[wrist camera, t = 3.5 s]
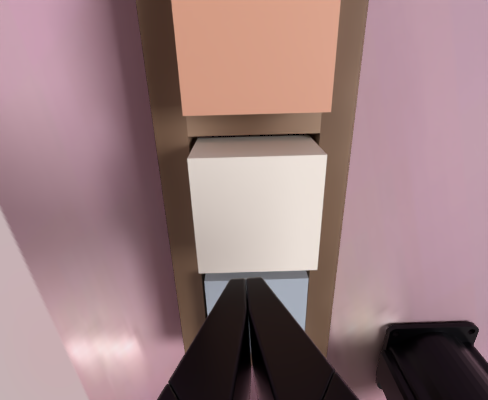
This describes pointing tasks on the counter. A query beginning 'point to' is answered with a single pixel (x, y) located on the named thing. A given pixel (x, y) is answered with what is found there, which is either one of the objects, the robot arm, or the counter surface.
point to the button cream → (257, 203)
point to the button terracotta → (255, 55)
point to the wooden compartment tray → (189, 127)
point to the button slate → (281, 282)
